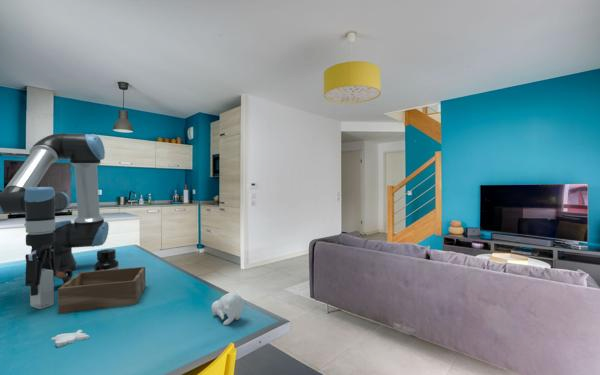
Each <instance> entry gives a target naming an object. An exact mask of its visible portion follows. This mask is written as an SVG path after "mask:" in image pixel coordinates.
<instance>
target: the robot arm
mask: <svg viewBox="0 0 600 375" xmlns="http://www.w3.org/2000/svg"><path fill="white" fill-rule="evenodd" d="M105 151H106V150H105V147H104V143H103V140H102V139H101V138H100V137H99V136H98V135H96V134H89V133H86V134H85V133H63V132H62V133H61V132H59V133H53V134H49V135H47V136H44V137H43V138H41V139H40V140H38V141H37V142H35V143H34V144H33V145H32V147H30V149H29V155H28V157H27V159H26V160H25V161H24V162H23V163H22V164H21V166H20V168H19V169H18V170H17V171H16V173H15V174H14V175H13V177H12V178H11V180H10V181H9V182H8V184H7V185H6V186H5V187H4V189H2V191H0V215H7V214H9V215H10V214H24V216H25V223H24V224H23V225H24V227H25V233H26V235H25V245H26V246H28V247H31V249H30V250H31V251H30V253H28V254H25V277H24V278H25V281H24V282H25V283H24V284H25V287H29V301H30V302H29V304H30V306H31V305H38V304H41V303H42V291H41V284H40V277H41V271H42V269H49V270H53V276H54V277H56V273H55V272H56V270H58V271H59V272H63V271H64V270H67V269H69V270H71V271H72V272H73V271H74V270H76V269H77V262H76V259H75V257H74V254H73V250H72V249H73V248H74V249H75V248H83V247H84V248H87V247H90V248H91V247H92V248H93V247H99V246H103V245H104V244H105V243H106V241H107V239H108V235H109V228H110V225H109V222H108V221H104V220H105V219H104V217H103V216H102V215H101V214H100V198H99V196H100V195H99V181H98V180H99V179H98V176H99V175H98V166H100V164H101V161H102V160H104V159H105V154H106V152H105ZM62 159H63V160H69V163H70V165H72V166H73V167H74V175H75V176H74V177H75V178H74V179H75V192H76V193H75V194H76V206H77V217H76V218H75V219H74V221H72V220H70V219H69V220H67V219H66V220H59V221H56V213H57V212H58V213H60V212H62V211H64V210H66V209H68V208H69V207H70V205H71V197H69V195H68V194H67V193H65V192H63V191H55V188H54V187H52V186H38V185H39V183H40V182H41V180H42V178H43V177H44V175H45V174H46V173H47V171H48V170H49V168H50V166H51V165H52V164H54V163H56V162H57V161H58V160H62Z"/></svg>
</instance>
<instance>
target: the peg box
mask: <svg viewBox="0 0 600 375" xmlns="http://www.w3.org/2000/svg"><path fill="white" fill-rule="evenodd" d="M146 283H147V282H146V266H138V267H128V268H127V267H125V268H119V269H112V270H101V271H94V270H91V271H80V272H79V273H78V274H75V275H74V276H72V277H71V279H70V280H69V281H68V282H66V283H65V284H64V283H63V284H64V285H62V284H61V285H62V286H61V285H60V287H59V288H57V304H58V305H57V306H58V308H57V310H58V311H57V312H58V315H59V314H60V315H61V314H67V313H74V312H75V313H76V312H82V311H84V312H85V311H93V310H100V309H109V308H117V307H124V306H125V307H126V306H133V305H137V303H138V301H139V300H140V298H141V296H142V294H143V292H144V291H145V288H146V286H147V284H146Z"/></svg>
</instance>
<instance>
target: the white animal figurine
mask: <svg viewBox="0 0 600 375" xmlns="http://www.w3.org/2000/svg"><path fill="white" fill-rule="evenodd" d="M244 305H245V302H244V300H243V298H242V296H241V295H239V294H238V293H236V292H229V293H227V294H226V293H225V294H223V295H222V296H221V297H220V298H219V299H218V300H215V301H214V302H213V303H212V305H211V311H212V312H211V313H212V314H213V315H214V317H215V316H218V317H220V319H221V320H224V319H225V315H226V316H227V317H228V318H227V319H225V320H224V321H223V323H222V324H223V326H227V325H229V324H231V323H232V322H233V321H234V320H235V321H238V320H240V319H241V316H242V313H243V311H244Z"/></svg>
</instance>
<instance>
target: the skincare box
mask: <svg viewBox="0 0 600 375" xmlns="http://www.w3.org/2000/svg"><path fill="white" fill-rule="evenodd" d="M54 280H55V279H54ZM54 280H53V270H49V269H42V271H41V277H40V284H41V291H42V303H41V304H38V305H30V307H31V308H34V309H38V310H42V309H45V308H49V307H51V306H54V305H55V292H54V289H55V287H54V286H55V284H54V282H55V281H54Z"/></svg>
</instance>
